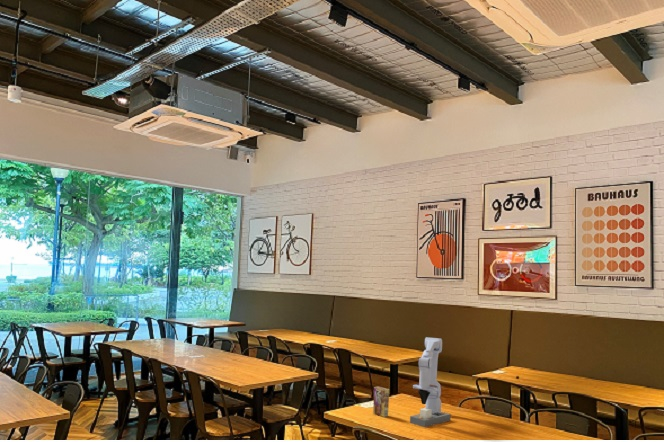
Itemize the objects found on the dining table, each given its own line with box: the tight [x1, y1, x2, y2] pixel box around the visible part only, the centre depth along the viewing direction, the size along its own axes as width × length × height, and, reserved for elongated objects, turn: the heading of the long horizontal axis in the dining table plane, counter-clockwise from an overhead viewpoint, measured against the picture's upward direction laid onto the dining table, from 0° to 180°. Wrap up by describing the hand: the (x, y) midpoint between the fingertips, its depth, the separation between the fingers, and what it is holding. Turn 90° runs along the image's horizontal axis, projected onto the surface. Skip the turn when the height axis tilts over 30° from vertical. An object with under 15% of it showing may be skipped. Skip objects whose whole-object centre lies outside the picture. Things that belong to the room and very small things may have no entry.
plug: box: [419, 407, 432, 419], centre depth 286 cm, size 5×4×7 cm
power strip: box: [409, 410, 452, 428], centre depth 290 cm, size 24×10×4 cm, turn 132°
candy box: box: [372, 386, 390, 418], centre depth 300 cm, size 9×4×15 cm, turn 39°
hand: (423, 403), depth 290 cm, fingers closed
